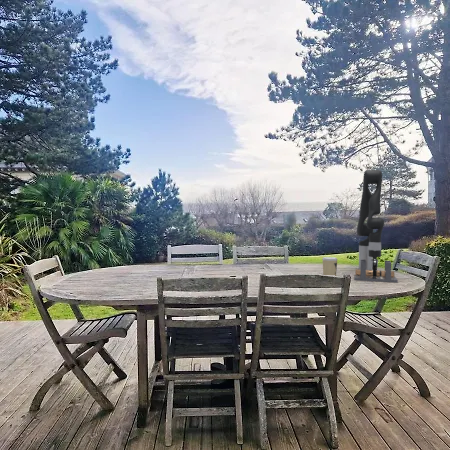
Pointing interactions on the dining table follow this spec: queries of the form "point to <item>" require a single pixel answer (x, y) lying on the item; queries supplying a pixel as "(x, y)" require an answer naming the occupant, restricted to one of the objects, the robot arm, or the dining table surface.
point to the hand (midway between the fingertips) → (374, 275)
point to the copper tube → (370, 273)
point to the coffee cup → (329, 265)
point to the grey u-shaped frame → (376, 278)
